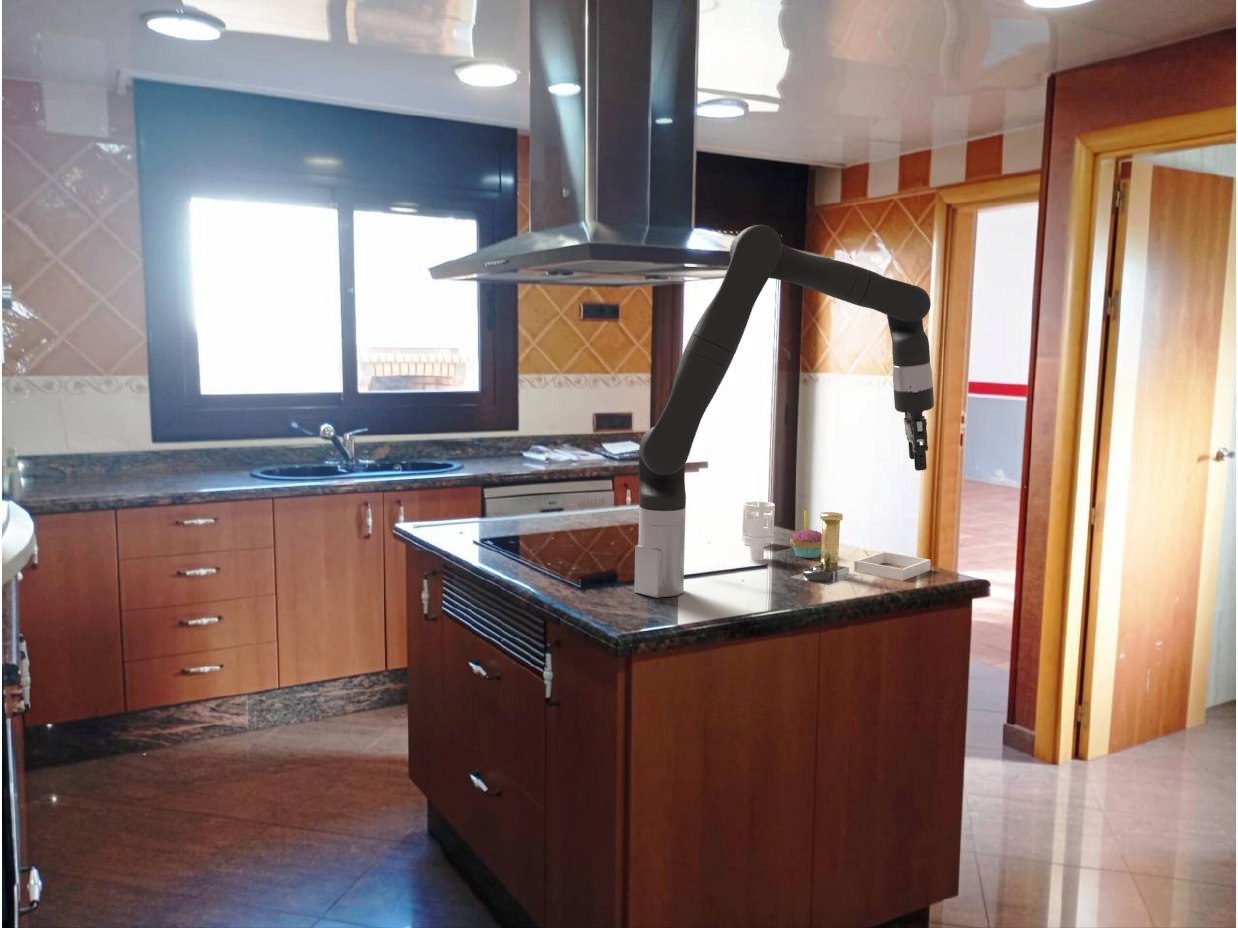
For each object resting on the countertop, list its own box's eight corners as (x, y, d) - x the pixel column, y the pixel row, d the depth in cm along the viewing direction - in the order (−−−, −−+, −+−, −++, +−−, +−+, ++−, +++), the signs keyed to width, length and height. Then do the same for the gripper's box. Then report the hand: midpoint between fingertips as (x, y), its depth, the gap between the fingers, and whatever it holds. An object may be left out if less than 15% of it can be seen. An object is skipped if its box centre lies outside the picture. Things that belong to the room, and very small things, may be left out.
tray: (902, 586, 205) (902, 569, 204) (853, 576, 212) (854, 560, 212) (929, 575, 214) (930, 559, 214) (882, 566, 222) (883, 551, 221)
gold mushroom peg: (832, 578, 206) (835, 516, 204) (813, 574, 209) (816, 514, 207) (843, 574, 209) (846, 514, 207) (824, 570, 212) (827, 511, 210)
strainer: (743, 567, 219) (745, 501, 217) (738, 560, 226) (740, 495, 224) (775, 567, 219) (777, 501, 217) (769, 560, 226) (771, 496, 224)
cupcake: (782, 557, 230) (784, 506, 228) (813, 554, 233) (815, 504, 231) (801, 565, 222) (803, 513, 220) (833, 562, 225) (836, 511, 223)
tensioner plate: (827, 590, 200) (828, 574, 200) (789, 582, 206) (790, 566, 206) (856, 580, 209) (857, 564, 208) (819, 572, 215) (820, 557, 214)
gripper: (889, 381, 203) (894, 456, 207) (897, 394, 189) (903, 475, 193) (927, 377, 201) (931, 453, 205) (938, 390, 188) (942, 472, 192)
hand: (917, 464), depth 199 cm, fingers open, 8 cm apart
